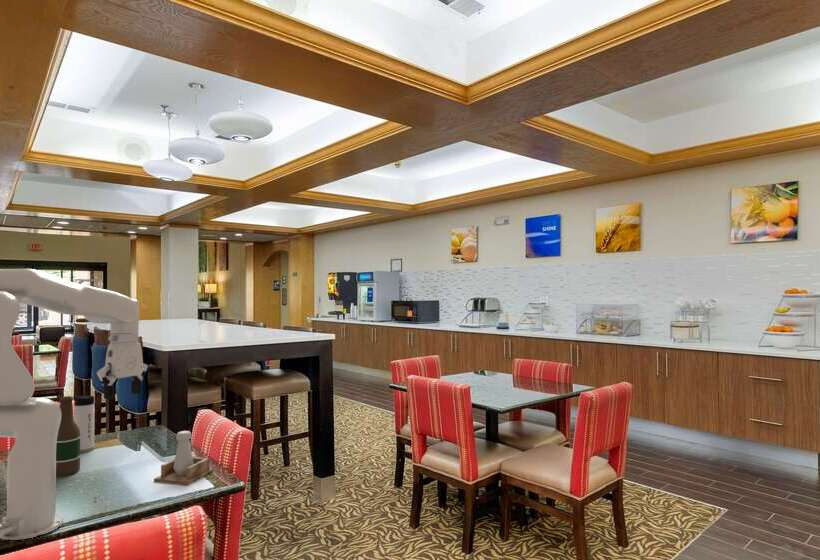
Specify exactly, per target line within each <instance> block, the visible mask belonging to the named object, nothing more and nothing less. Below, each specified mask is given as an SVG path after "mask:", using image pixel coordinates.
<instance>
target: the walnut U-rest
mask: <svg viewBox="0 0 820 560" xmlns="http://www.w3.org/2000/svg"><path fill="white" fill-rule="evenodd" d="M192 457H193V463H194V464H193V465H191V466H189V467H187V472H186V476H177V475H176V473H175V470H174V469H173V466H174V461H175V458H174V459H172V460H170V461H167V462H164V463H163V464H161V466H160V475H159V476H156V477H155V478H153V482H158V483H166V484H172V485H173V484H175V485H182V484H183V485H184V486H189V485H190V483H191V484H193V483H194V482H196V481H197V479H198V480H200V479H202V478H203V476H204V475H206V474H207V475H209V474H211V473H213V472H214V468H210V464H211V463H210V461H211V459H210V457H209V458H208V457H199V456H192ZM212 471H213V472H212ZM210 472H211V473H210ZM208 473H209V474H208ZM207 475H206V476H207ZM201 477H202V478H201ZM204 477H205V476H204ZM199 478H200V479H199ZM188 484H189V485H188Z"/></svg>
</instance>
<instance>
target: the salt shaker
mask: <svg viewBox="0 0 820 560" xmlns="http://www.w3.org/2000/svg"><path fill="white" fill-rule="evenodd" d="M175 438H176V441H178V444H177V448H176V451H175V458H174V459H175V461H174V466H173V469H174V470H175V473H176V475H177V476H186V472H187V467H189V466H191V465H193V464H194V463H193V457H194V456H193V453H192V448H191V447H192V446H191V442H190V439H192V432H191V431H189V430H182V431H178V432H177V434H176V436H175Z"/></svg>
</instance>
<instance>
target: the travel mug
mask: <svg viewBox="0 0 820 560" xmlns="http://www.w3.org/2000/svg"><path fill="white" fill-rule="evenodd" d="M72 397H73V399H74V406H73V407H74V409H73V419H74V422H75V423H76V424H77V425H78V427H79V430H80V454H82V453H88V452H90V451H93V450H94V449H95V403H96V402H95V396H94V395H90V394H89V395H88V394H83V395H81V394H80V395H76V394H74V395H73V396H72Z"/></svg>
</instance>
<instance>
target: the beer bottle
mask: <svg viewBox="0 0 820 560" xmlns="http://www.w3.org/2000/svg"><path fill="white" fill-rule="evenodd" d="M73 400H74V398H73V396H71V395H70V396H62V397H60V398H59V400H58V402H59V407H60V409H61V422H60V426H59V430H58V435H57V443H56V478H58V477H59V478H60V477H66V476H67V477H68V476H72V475H75V474H76V472H77V473H78V472H79V471H80V469H81V453H80V430H79V427H78V425H77V424H76V423H75V422H74V409H73V407H74V406H73ZM71 474H72V475H71Z"/></svg>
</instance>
